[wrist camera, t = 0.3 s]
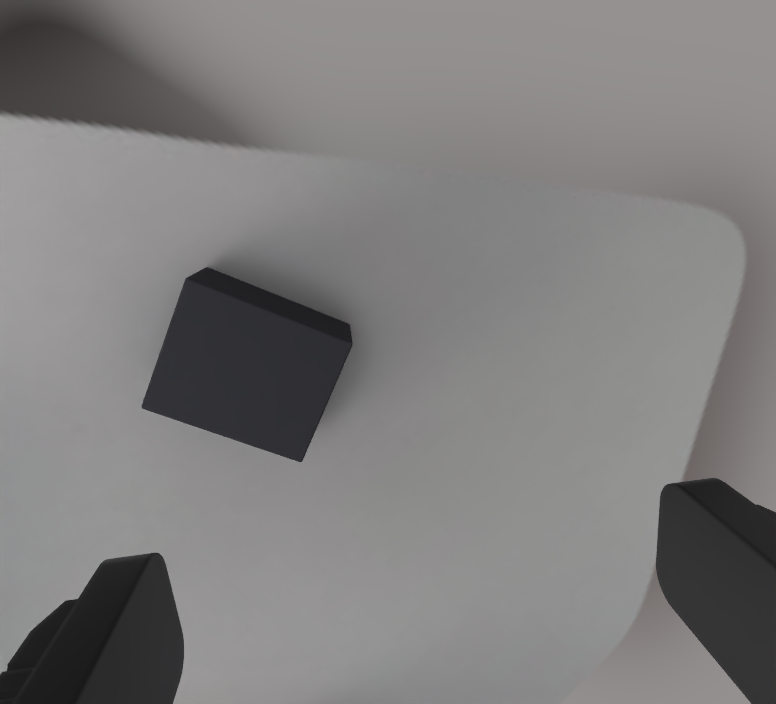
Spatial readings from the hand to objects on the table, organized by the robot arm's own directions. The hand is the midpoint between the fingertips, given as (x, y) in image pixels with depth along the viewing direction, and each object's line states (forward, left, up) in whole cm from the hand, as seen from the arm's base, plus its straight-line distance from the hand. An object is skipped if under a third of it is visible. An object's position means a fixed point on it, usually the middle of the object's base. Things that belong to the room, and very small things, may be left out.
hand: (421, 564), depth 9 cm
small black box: (+2, -4, -14) cm, 15 cm away
